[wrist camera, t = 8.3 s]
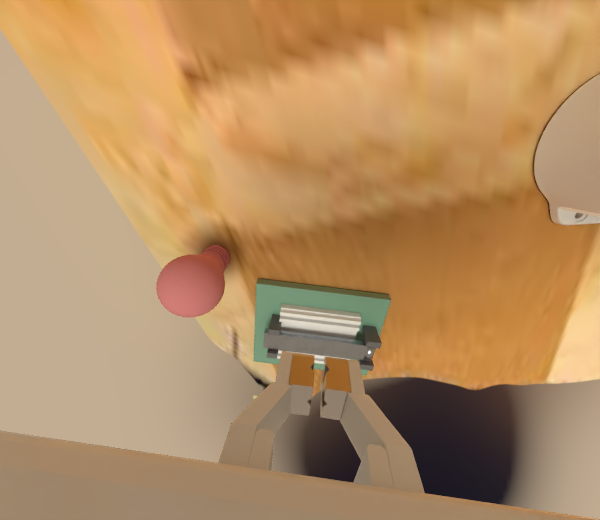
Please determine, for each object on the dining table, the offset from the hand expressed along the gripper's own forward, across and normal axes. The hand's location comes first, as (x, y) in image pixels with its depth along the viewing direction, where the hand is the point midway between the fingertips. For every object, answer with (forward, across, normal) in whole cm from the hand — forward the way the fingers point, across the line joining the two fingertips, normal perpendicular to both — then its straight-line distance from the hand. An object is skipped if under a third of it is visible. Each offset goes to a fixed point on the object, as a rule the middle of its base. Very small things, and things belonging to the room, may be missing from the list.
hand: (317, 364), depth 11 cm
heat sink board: (+23, -2, +18) cm, 30 cm away
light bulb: (+23, +14, +7) cm, 28 cm away
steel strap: (+20, -2, +18) cm, 27 cm away
